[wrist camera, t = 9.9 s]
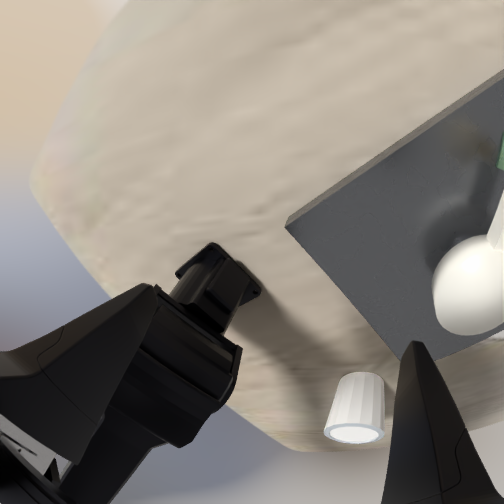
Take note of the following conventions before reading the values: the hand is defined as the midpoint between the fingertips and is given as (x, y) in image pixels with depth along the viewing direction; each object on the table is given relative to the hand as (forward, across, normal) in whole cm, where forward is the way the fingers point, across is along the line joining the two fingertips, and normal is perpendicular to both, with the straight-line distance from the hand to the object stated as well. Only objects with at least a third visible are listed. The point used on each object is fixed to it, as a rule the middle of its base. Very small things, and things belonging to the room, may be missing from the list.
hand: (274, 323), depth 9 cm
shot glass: (+13, -8, +24) cm, 29 cm away
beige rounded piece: (+9, -12, +1) cm, 15 cm away
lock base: (+13, -12, +4) cm, 18 cm away
